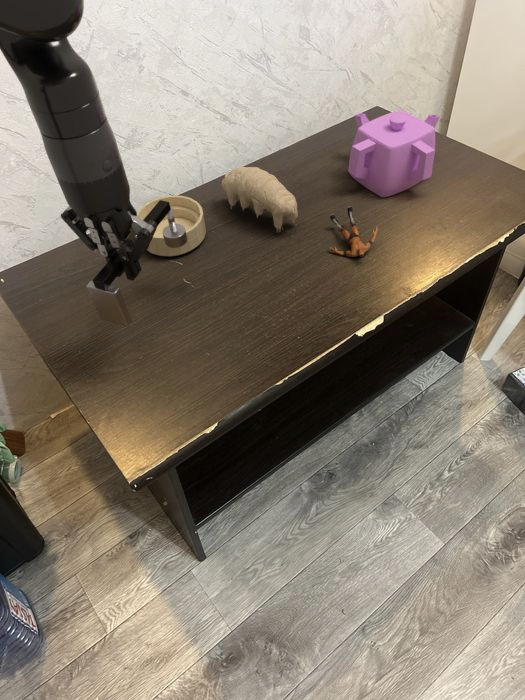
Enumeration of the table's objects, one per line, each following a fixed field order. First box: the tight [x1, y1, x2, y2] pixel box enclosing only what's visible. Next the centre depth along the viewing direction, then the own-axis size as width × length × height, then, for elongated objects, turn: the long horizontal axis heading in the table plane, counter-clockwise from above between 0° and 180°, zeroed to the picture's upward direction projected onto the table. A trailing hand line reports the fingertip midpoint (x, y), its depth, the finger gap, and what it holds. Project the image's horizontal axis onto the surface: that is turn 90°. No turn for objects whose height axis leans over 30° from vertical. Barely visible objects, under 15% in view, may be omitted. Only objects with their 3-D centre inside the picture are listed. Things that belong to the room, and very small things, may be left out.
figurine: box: [329, 205, 379, 259], centre depth 91 cm, size 9×2×11 cm
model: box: [221, 166, 299, 233], centre depth 95 cm, size 7×18×10 cm, turn 49°
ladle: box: [85, 200, 187, 327], centre depth 73 cm, size 20×4×8 cm, turn 158°
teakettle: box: [347, 109, 440, 198], centre depth 100 cm, size 17×17×12 cm
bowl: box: [136, 195, 207, 257], centre depth 94 cm, size 13×13×5 cm
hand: (127, 274), depth 70 cm, fingers closed on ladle
